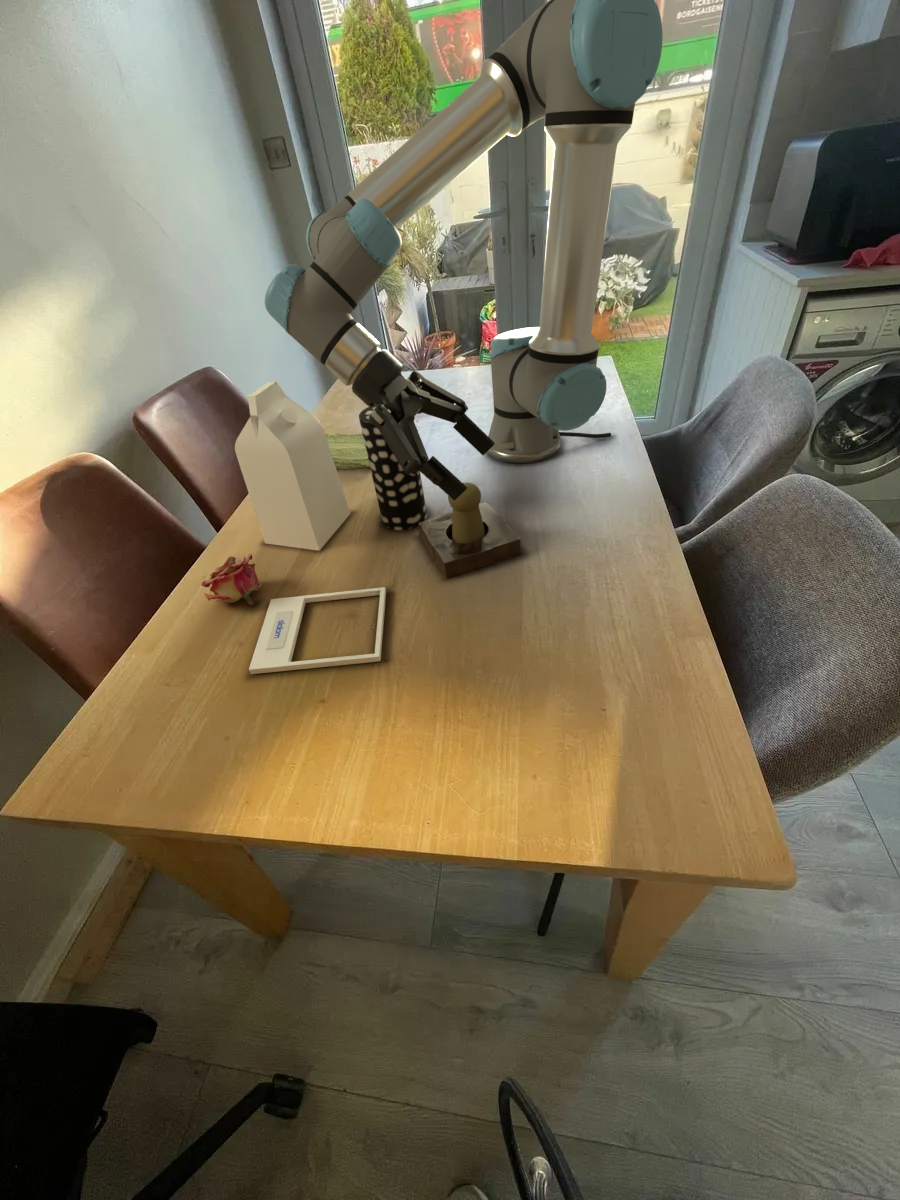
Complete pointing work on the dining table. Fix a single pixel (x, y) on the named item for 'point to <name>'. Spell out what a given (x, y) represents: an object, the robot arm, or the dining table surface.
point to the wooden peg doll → (467, 516)
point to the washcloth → (348, 450)
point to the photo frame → (284, 629)
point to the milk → (289, 472)
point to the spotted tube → (392, 480)
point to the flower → (233, 580)
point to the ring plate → (469, 555)
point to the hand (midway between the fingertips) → (475, 470)
